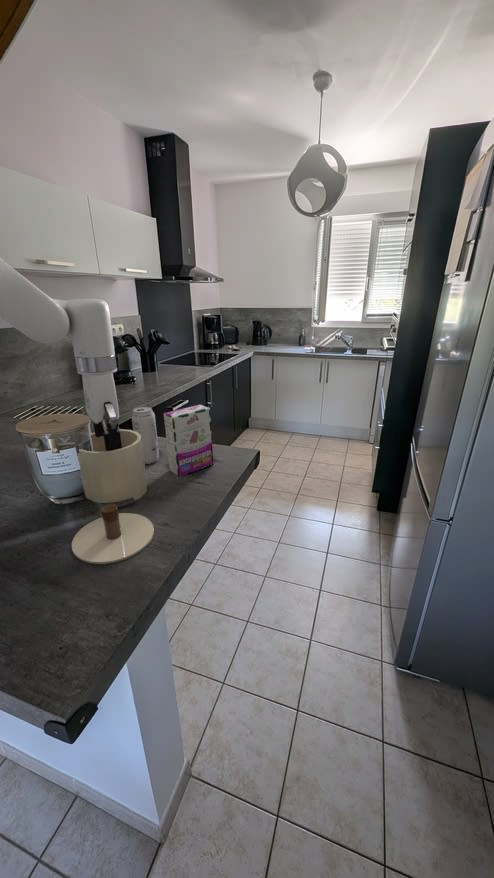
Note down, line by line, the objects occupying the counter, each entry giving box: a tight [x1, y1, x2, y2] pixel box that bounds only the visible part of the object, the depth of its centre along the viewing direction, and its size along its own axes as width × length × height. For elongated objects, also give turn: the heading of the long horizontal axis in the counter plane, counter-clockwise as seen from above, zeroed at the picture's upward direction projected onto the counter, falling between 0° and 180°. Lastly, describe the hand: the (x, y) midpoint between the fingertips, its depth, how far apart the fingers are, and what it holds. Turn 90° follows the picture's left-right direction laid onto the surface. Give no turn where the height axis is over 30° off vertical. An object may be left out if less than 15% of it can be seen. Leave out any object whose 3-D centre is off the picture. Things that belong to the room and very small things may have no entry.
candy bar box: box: [163, 404, 214, 477], centre depth 92 cm, size 11×5×16 cm, turn 131°
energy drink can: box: [131, 406, 160, 465], centre depth 96 cm, size 6×6×15 cm
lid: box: [71, 503, 155, 565], centre depth 66 cm, size 15×15×7 cm
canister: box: [78, 428, 148, 507], centre depth 81 cm, size 14×14×14 cm
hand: (108, 442), depth 78 cm, fingers open, 9 cm apart
